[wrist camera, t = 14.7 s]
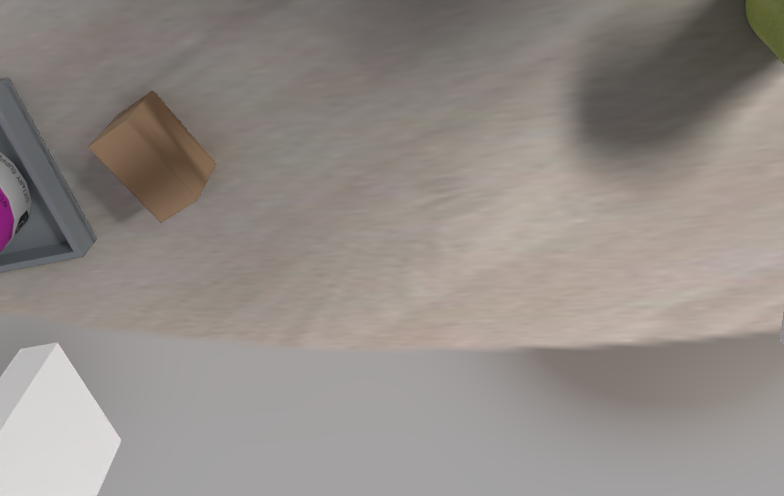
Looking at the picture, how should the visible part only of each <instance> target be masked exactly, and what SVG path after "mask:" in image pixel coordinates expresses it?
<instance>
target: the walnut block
mask: <svg viewBox="0 0 784 496" xmlns="http://www.w3.org/2000/svg"><path fill="white" fill-rule="evenodd" d="M88 148H89V149H90V150H91V151H92V152H93V153H94V154H95V155H96V156H97V157H98V158H99V159H100V160H101V161H102V162H103V163H104V164H105V165H106V166H107V167H108V169H109V170H110V171H111V172H112V173H113V174H114V175H115V176H116V177H117V178H118V179H119V180H120V181H121V182H122V183H123V184H124V185H125V186H126V187H127V188H128V189H129V190H130V191H131V192H132V193H133V195H134V196H135V197H136V198H137V199H138V200H139V201H140V202H141V203H142V204H143V205H144V206H145V207H146V208H147V209H148V210H149V211H150V212H151V213H152V214H153V215H154V216H155V217H156V218H157V220H158V221H159V222H160V223H161V222H163V221H164V220H166V219H167V218H169V217H171V216H172V215H174V214H176V213H177V212H179V211H180V210H182V209H184V208H185V207H187V206H188V205H190V204H192V203H193V202H195V201H196V200H198V198H199V196H200V194H201V192H202V190H203V188H204V186H205V184H206V182H207V181H208V179H209V177H210V175H211V173H212V171H213V169H214V167H215V165H216V163H215V162H214V161H213V160H212V159H211V157H210V156H209V155H208V154H207V153H206V152H205V150H204V149H203V148H202V147H201V146H200V145H199V143H198V142H197V141H196V140H195V139H194V138H193V136H192V135H191V134H190V133H189V132H188V131H187V129H186V128H185V127H184V126H183V125H182V124H181V122H180V121H179V120H178V119H177V118H176V117H175V115H174V114H173V113H172V112H171V111H170V110H169V108H168V107H167V106H166V105H165V104H164V103H163V101H162V100H161V99H160V98H159V97H158V96H157V94H156V93H155V92H154V91H151V92H150V93H148V94H147V95H146V96H144V97H143V98H141V99H140V100H138V101H137V102H136V103H134V104H133V105H131V106H130V107H129V108H127V109H126V110H124V111H123V112H121V113H120V114H119V115H118V116H117V117H116V118H115V119H114V120H113V121H112V122H111V123H110V124H109V125H108V126H107V127H106V128H105V129H104V130H103V132H102V133H101V134H100V135H99V136H98V137H97V138H96V139H95V140H94V141H93V142H92V143H91V144H90V145H89V146H88Z"/></svg>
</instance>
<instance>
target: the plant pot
mask: <svg viewBox="0 0 784 496" xmlns="http://www.w3.org/2000/svg"><path fill="white" fill-rule="evenodd" d="M746 16H747V20H748V23H749V25H750V26H751V28H752V29H753V31H754V32H755V34H756V35H757V36H758V37H759V38H760V39H761V40H762V41H763V42H764V43H765V44H766V45H767V46H768V47H769V48H770V49H771V50H772V51H773V52H774V54H775V55H776V56H777V57H778V58H779V59H780V60H781V61H782V62H783V63H784V0H746Z"/></svg>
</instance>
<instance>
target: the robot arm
mask: <svg viewBox="0 0 784 496" xmlns="http://www.w3.org/2000/svg"><path fill="white" fill-rule="evenodd" d="M780 341H781V343H782V344H783V345H784V313H783V321H782V329H781V337H780ZM120 442H121V439H120V438H119V436H118V435H117V433H116V432H115V430H114V429H113V427H112V426H111V424H110V422H109V421H108V419H107V418H106V416H105V415H104V413H103V412H102V411H101V409H100V407H99V406H98V404H97V402H96V401H95V399H94V398H93V396H92V395H91V393H90V392H89V390H88V389H87V388H86V386H85V384H84V382H83V381H82V379H81V378H80V376H79V375H78V373H77V372H76V370H75V369H74V367H73V366H72V364H71V362H70V361H69V359H68V358H67V356H66V355H65V353H64V352H63V350H62V349H61V347H60V346H59V344H58V343H52V344H46V345H41V346H34V347H29V348H23V349H20V350H19V352H18V353H17V354H16V356H15V357H14V359H13V360H12V361H11V363H10V364H9V366H8V367H7V368H6V370H5V371H4V373H3V374H2V375H1V377H0V496H97V494H98V492H99V490H100V487H101V485H102V482H103V481H104V478H105V476H106V474H107V472H108V469H109V467H110V465H111V463H112V460H113V458H114V456H115V454H116V451H117V449H118V447H119V445H120Z"/></svg>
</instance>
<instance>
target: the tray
mask: <svg viewBox="0 0 784 496" xmlns="http://www.w3.org/2000/svg"><path fill="white" fill-rule="evenodd" d="M0 152H1V153H2V154H3V155H5V156H6V157H7V158H8V159H9V160H10V161H11V162H13V163H14V165H15V166H16V168H17V169H18V171H19V172H20V174H21V175H22V177H23V178H24V180H25V181H26V183H27V186H28V190H29V194H30V197H31V201H32V203H31V210H30V216H29V220H28V221H27V222H26V224H25V225H24V226H23V228H22V229H21V230H20V232H19V233H18V234H17V235H16V236H15V237H14V238H13V239H12V240H11V241H10V243H9V244H8V245H7V246H6V247H5V248H4V249H3V250H2V251H1V252H0V272H6V271H11V270H16V269H21V268H26V267H32V266H37V265H42V264H47V263H52V262H58V261H63V260H68V259H73V258H78V257H84V256H85V254H86V253H87V251H88V250H89V249H90V247H91V246H92V244H93V243H94V242H95V240H96V239H97V238H96V237H95V235H94V233H93V231H92V229H91V227H90V226H89V224H88V222H87V220H86V218H85V216H84V215H83V213H82V211H81V209H80V207H79V205H78V204H77V202H76V200H75V198H74V196H73V194H72V193H71V191H70V189H69V187H68V185H67V183H66V182H65V180H64V178H63V176H62V174H61V173H60V171H59V169H58V167H57V165H56V163H55V162H54V160H53V158H52V156H51V154H50V152H49V151H48V149H47V147H46V145H45V143H44V141H43V140H42V138H41V136H40V134H39V132H38V130H37V129H36V127H35V125H34V123H33V121H32V119H31V118H30V116H29V114H28V112H27V110H26V109H25V107H24V105H23V103H22V101H21V99H20V98H19V96H18V94H17V92H16V90H15V88H14V87H13V85H12V83H11V81H10V79H9V78H6V79H2V80H0Z"/></svg>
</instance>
